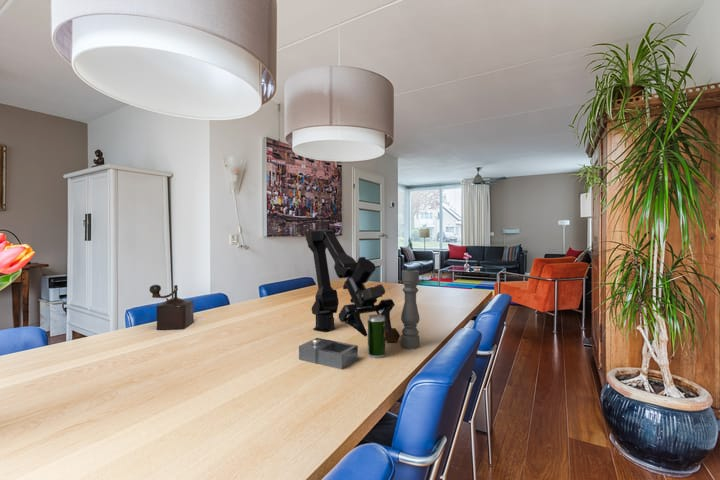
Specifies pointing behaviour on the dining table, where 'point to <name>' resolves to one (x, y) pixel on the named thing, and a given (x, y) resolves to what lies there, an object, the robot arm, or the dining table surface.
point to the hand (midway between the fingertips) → (378, 333)
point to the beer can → (376, 336)
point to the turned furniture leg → (410, 310)
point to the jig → (328, 353)
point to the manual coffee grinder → (173, 311)
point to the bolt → (391, 336)
